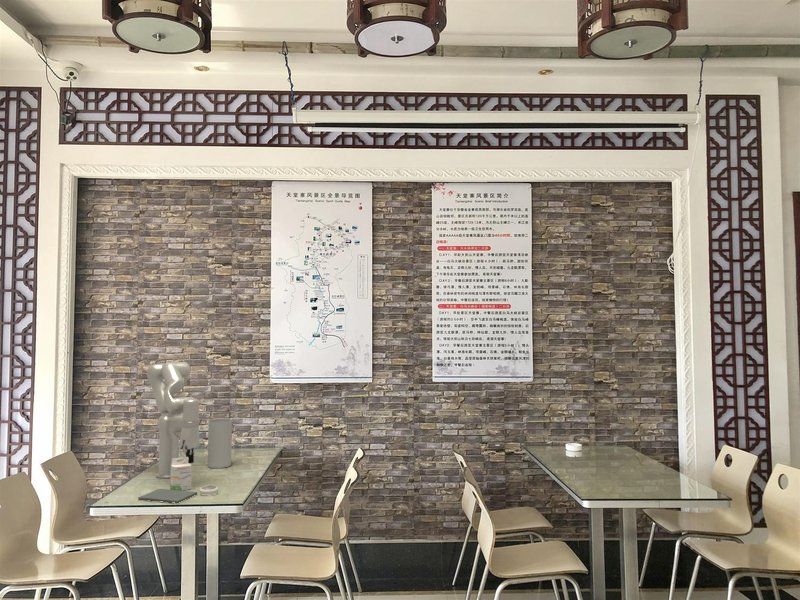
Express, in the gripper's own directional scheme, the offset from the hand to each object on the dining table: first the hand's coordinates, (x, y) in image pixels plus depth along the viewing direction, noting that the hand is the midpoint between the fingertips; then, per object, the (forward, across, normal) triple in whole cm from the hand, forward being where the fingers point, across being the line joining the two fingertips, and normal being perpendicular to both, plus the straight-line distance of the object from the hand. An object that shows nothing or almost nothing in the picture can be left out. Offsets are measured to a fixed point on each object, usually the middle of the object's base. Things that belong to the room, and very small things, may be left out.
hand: (189, 462), depth 294 cm
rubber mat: (+11, +19, +2) cm, 22 cm away
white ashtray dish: (+12, +9, +16) cm, 21 cm away
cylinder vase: (+11, -42, -8) cm, 44 cm away
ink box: (+12, +6, 0) cm, 13 cm away
